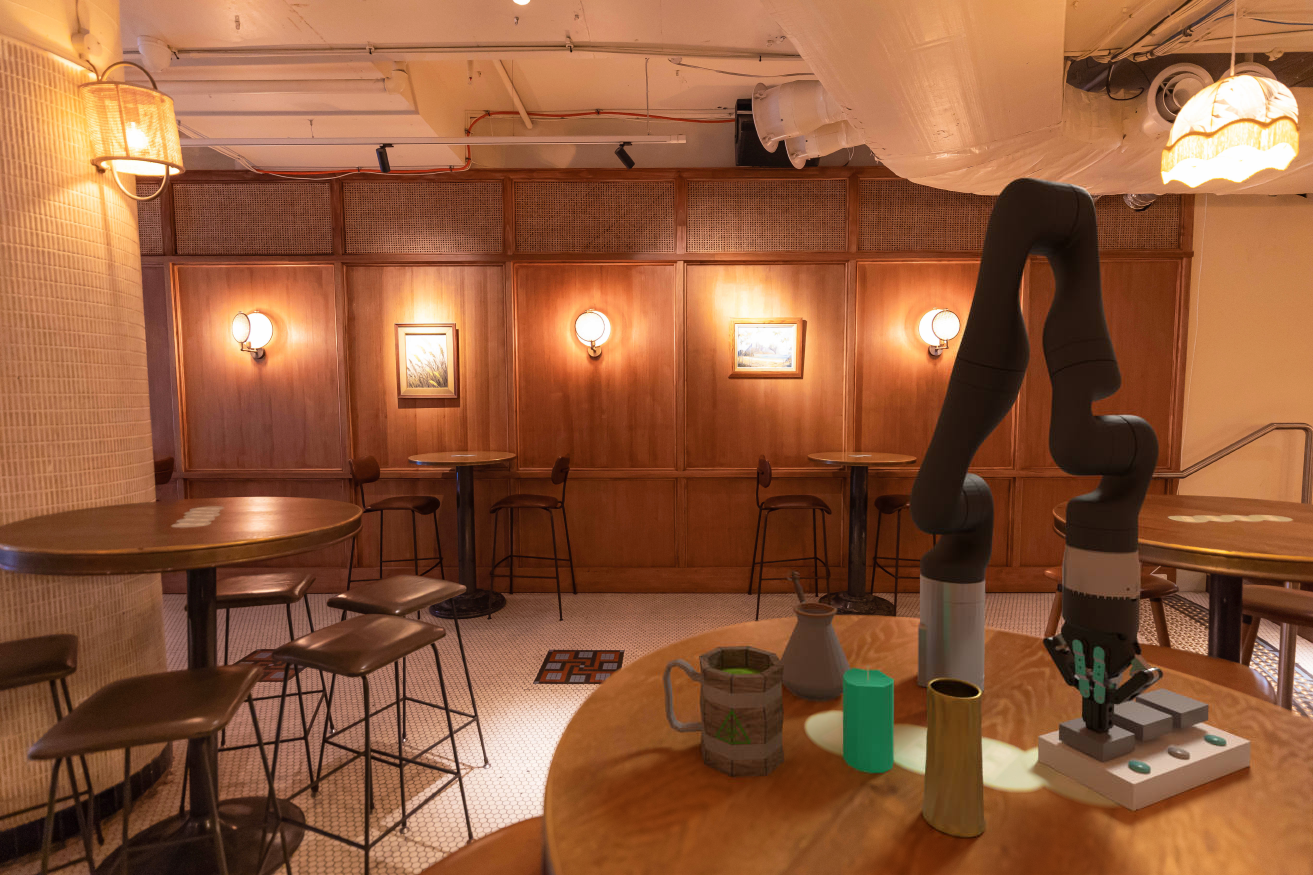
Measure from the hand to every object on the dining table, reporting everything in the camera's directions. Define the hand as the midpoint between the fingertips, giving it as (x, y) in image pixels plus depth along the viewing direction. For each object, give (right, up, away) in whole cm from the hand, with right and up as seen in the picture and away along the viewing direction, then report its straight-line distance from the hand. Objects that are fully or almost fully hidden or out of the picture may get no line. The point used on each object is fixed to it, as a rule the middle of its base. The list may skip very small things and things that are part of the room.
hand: (1097, 729), depth 76 cm
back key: (+13, -1, +6) cm, 15 cm away
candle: (-26, -6, +4) cm, 27 cm away
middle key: (+7, -1, +3) cm, 7 cm away
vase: (-21, -6, -8) cm, 23 cm away
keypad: (+7, -5, +2) cm, 9 cm away
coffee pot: (-28, -5, +28) cm, 40 cm away
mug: (-44, -6, +6) cm, 45 cm away
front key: (0, -2, 0) cm, 2 cm away
